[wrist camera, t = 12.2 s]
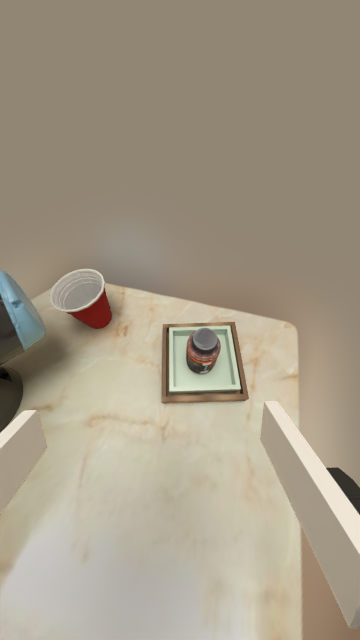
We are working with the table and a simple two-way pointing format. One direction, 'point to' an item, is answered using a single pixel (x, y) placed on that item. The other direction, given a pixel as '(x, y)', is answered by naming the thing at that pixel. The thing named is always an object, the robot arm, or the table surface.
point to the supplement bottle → (202, 350)
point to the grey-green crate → (214, 381)
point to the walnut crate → (201, 397)
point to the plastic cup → (82, 297)
